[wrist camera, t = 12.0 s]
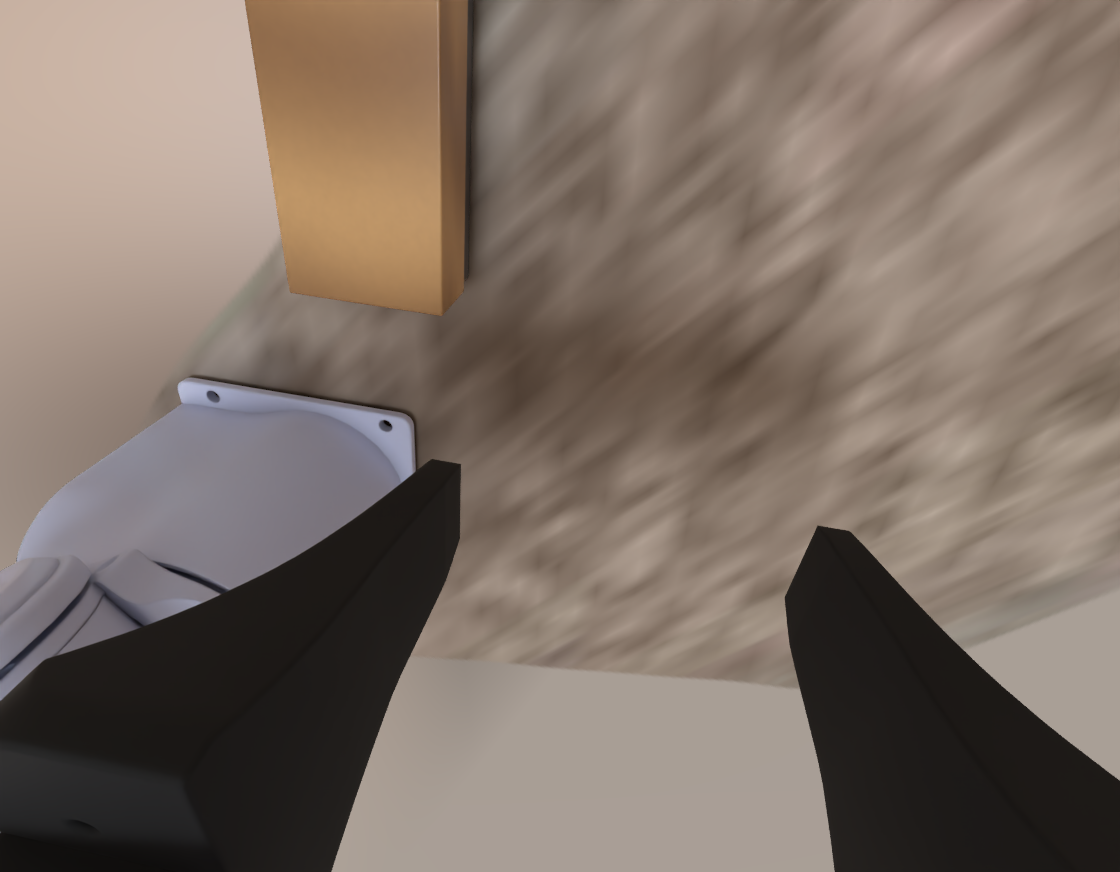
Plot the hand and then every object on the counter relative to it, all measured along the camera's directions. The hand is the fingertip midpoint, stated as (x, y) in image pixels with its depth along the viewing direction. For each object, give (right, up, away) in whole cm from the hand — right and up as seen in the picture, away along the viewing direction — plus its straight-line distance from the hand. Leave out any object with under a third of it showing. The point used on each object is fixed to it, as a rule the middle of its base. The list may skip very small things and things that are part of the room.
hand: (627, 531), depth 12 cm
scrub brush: (-6, +12, +5) cm, 14 cm away
